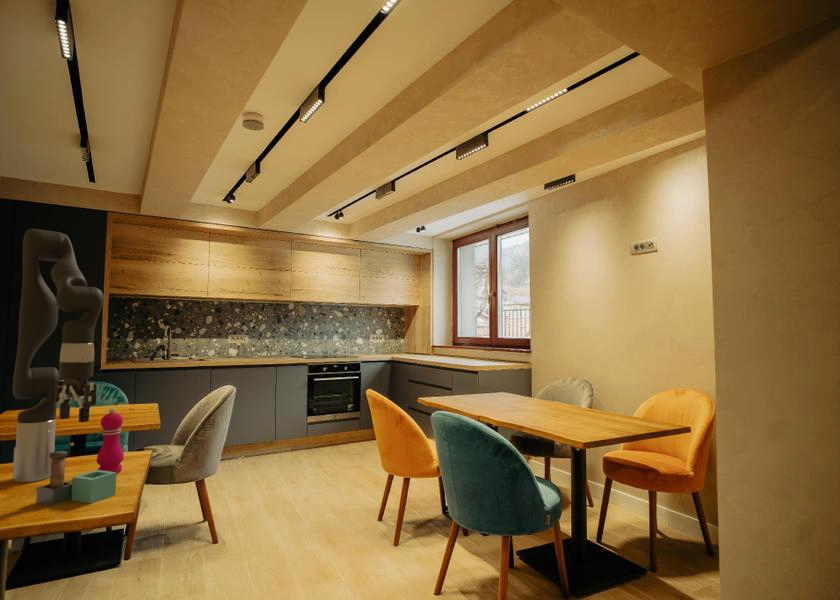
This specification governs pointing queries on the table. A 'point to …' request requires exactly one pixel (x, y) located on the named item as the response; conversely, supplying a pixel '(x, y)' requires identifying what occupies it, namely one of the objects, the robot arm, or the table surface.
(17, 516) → the table surface
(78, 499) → the socket
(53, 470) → the pin
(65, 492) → the mount
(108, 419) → the pepper mill
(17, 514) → the table surface
